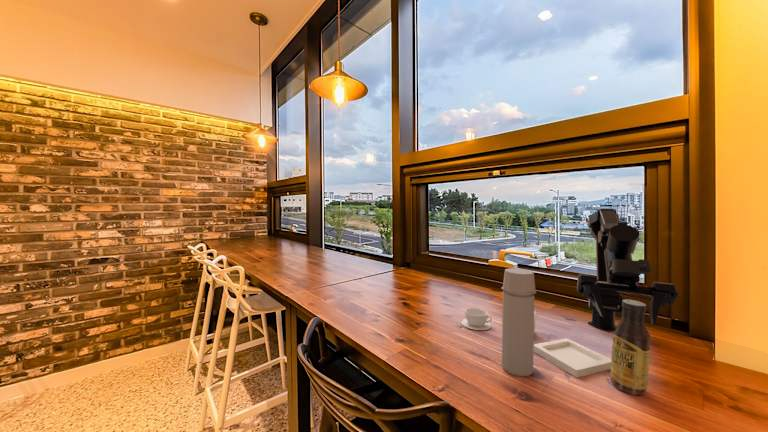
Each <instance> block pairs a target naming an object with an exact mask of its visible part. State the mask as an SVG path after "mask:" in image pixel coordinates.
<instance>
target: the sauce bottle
mask: <svg viewBox="0 0 768 432" xmlns="http://www.w3.org/2000/svg"><path fill="white" fill-rule="evenodd" d="M622 307H623V310H622V312H621V318H620V320H619V322H618V324H617V325H616V326H617V328H616V330H614V332H613V336H612V347H611V360H612V361H611V369H610V381H611V383H612V384H613V386H614V387H615V388H617V389H619V390H621V391H623V392H624V393H626V394H630V395H635V396H643V395H645V393H647V389H648V382H649V381H648V380H649V368H650V357H651V354H650V353H651V347H650V346H651V335H650V333H649V331H648V330H647V328H646V325H645V316H646V314H645V313H646V311H647V304H646V303H645V302H641V301H639V300H634V299H624V300H623V301H622Z"/></svg>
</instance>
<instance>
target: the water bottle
mask: <svg viewBox="0 0 768 432" xmlns="http://www.w3.org/2000/svg"><path fill="white" fill-rule="evenodd" d="M500 289H502V308H501V309H502V318H501V319H502V320H501V321H502V322H501V323H502V324H501V326H502V328H501V366H502V368H503V369H504V370H505V372H506V373H509V374H510V375H512V376H517V377H523V378H524V377H529V376H531V374H532V373H533V372H534V352H533V346H534V341H535V340H534V339H535V338H534V337H535V332H534V311H535V294H537V291H536V283H535V273H534V271H533V270H529V269H526V268H525V269H524V268H517V267H516V268H515V267H510V268H505V269H504V274H503V283H502V287H500Z"/></svg>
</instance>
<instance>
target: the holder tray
mask: <svg viewBox="0 0 768 432" xmlns="http://www.w3.org/2000/svg"><path fill="white" fill-rule="evenodd" d="M533 353H535V354H537V355H539V356H540V357H542V358H543V359H545V360H547V361H548V362H550V363H552V364H554V365H555V366H556V367H559V368H560V369H562V370H563V371H565V372H567V373H568V374H570V375H571V374H572V375H571V376H573V377H574V378H576V377H577V378H580V377H579V376H581V377H585V376H589V375H593V374H598V373H602V372H605V371H608V370H609V371H610V370H611V361H612V358H609V357H607V356H604V355H602V354H601V353H598V352H597V351H594V350H592V349H590V348H588V347H586V346H583V345H582V344H581V343H578V342H575V341H574V340H571V339H569V338H567V337H565V338H561V339H555V340H550V341H544V342H539V343H535V344H534V346H533ZM584 375H585V376H584Z"/></svg>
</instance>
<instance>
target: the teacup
mask: <svg viewBox="0 0 768 432" xmlns="http://www.w3.org/2000/svg"><path fill="white" fill-rule="evenodd" d="M464 313H465V318H463V319H462V320H461V325H462V326H464V327H465V328H467V329H471V330H475V331H487V330H490V329H491V328H492V324H491V322H492V316H491V315H489V314H488V312H487V311H486V310H484V309H481V308H477V307H471V308H470V307H469V308H466V309H465V310H464ZM488 318H490V320H488Z"/></svg>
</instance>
